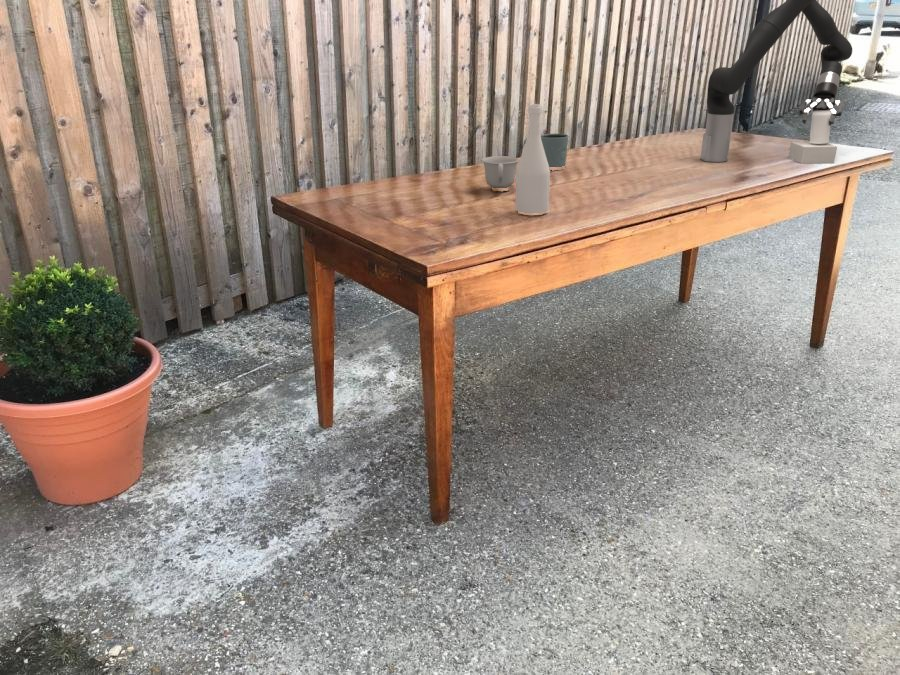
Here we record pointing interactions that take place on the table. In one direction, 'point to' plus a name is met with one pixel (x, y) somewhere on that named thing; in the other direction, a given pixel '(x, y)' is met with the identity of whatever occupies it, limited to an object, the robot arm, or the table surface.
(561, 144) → the green cup
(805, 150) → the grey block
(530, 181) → the wine bottle
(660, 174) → the table surface
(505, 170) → the teacup
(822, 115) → the can
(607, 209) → the table surface
